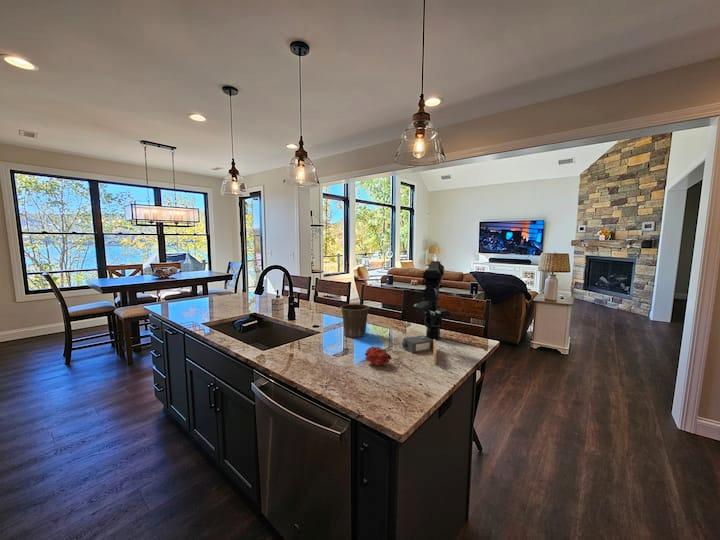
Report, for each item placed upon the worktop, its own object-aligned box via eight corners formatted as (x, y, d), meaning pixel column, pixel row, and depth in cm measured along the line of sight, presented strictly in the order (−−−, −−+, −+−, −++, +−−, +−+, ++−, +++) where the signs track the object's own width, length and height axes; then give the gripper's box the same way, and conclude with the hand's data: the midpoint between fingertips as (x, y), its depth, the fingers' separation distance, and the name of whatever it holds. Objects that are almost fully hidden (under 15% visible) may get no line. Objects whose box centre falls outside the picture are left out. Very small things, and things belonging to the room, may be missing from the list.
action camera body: (423, 344, 153) (423, 334, 152) (432, 349, 145) (433, 338, 145) (401, 348, 147) (401, 337, 147) (410, 353, 140) (410, 342, 139)
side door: (432, 349, 145) (433, 338, 145) (435, 349, 145) (435, 339, 144) (433, 364, 127) (434, 352, 127) (436, 364, 127) (437, 352, 126)
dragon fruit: (363, 365, 130) (389, 373, 126) (359, 360, 123) (386, 368, 119) (369, 346, 134) (394, 354, 130) (366, 340, 127) (392, 348, 123)
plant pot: (343, 329, 177) (343, 303, 176) (370, 331, 175) (370, 304, 174) (337, 338, 161) (337, 309, 160) (367, 339, 159) (367, 310, 158)
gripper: (405, 294, 146) (405, 324, 148) (433, 301, 130) (432, 335, 132) (422, 291, 152) (421, 321, 153) (451, 298, 136) (449, 331, 138)
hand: (430, 327), depth 144 cm, fingers closed
